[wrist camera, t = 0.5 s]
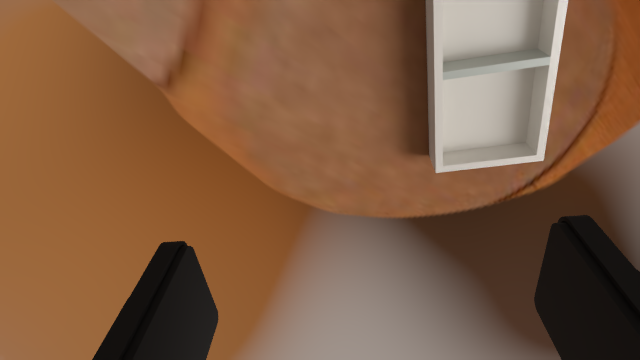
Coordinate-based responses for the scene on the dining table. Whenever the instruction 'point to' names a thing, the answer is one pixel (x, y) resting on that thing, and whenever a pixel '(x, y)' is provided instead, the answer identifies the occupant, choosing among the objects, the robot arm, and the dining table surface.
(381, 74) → the dining table surface
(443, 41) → the white divided tray
